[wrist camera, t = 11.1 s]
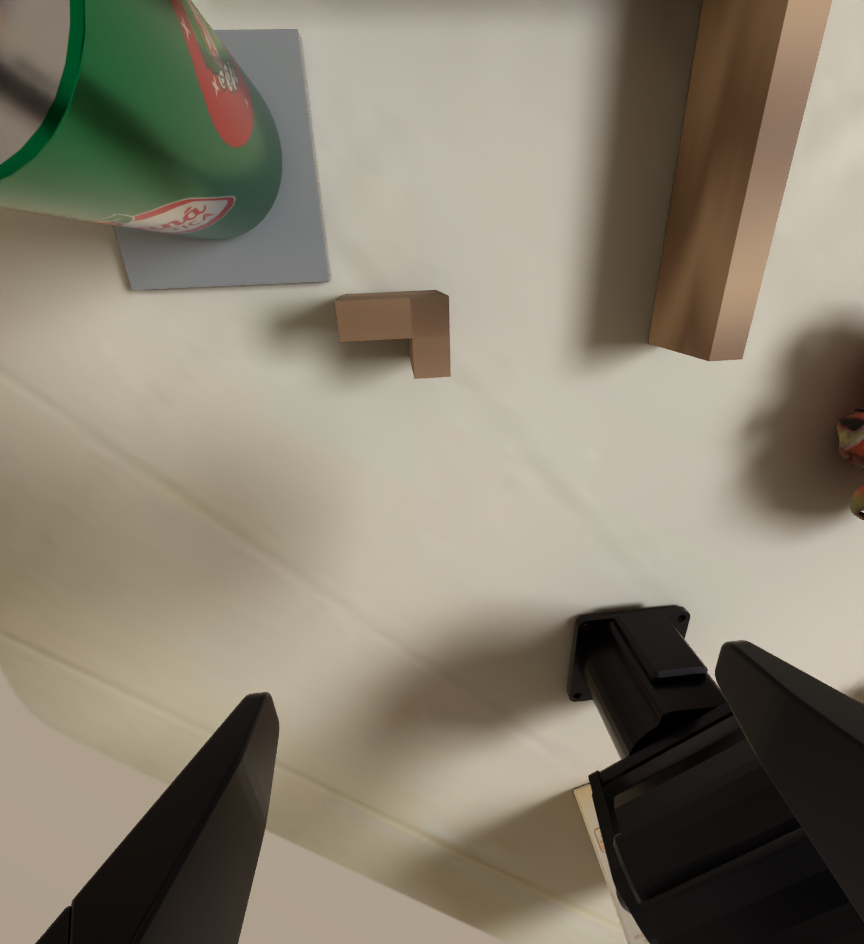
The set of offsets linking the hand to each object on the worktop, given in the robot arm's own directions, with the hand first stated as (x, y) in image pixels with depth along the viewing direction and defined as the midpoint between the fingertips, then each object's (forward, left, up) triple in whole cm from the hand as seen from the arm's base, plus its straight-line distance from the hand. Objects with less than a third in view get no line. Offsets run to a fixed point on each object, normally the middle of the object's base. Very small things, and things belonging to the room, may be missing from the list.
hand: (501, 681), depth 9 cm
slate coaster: (+11, +7, -13) cm, 18 cm away
